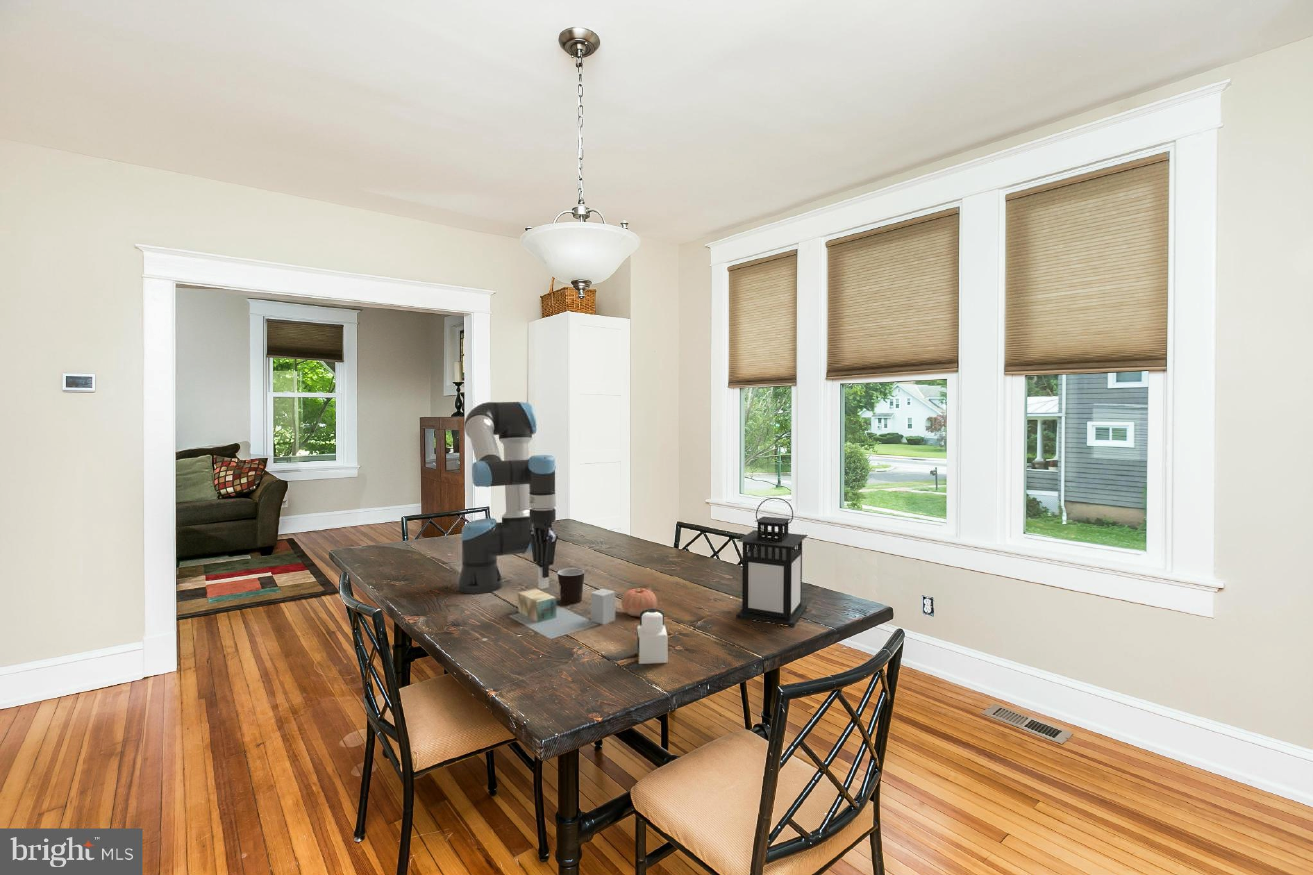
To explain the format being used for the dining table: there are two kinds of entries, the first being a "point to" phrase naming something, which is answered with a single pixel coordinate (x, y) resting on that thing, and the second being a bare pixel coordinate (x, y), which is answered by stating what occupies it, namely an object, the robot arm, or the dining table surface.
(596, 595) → the grey painted block
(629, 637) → the dining table surface
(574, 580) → the coffee mug
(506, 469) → the robot arm
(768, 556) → the lantern
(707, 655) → the dining table surface
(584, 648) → the dining table surface
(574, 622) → the slate mat
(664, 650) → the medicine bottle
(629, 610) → the orange ribbed round piece
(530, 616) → the birch block
